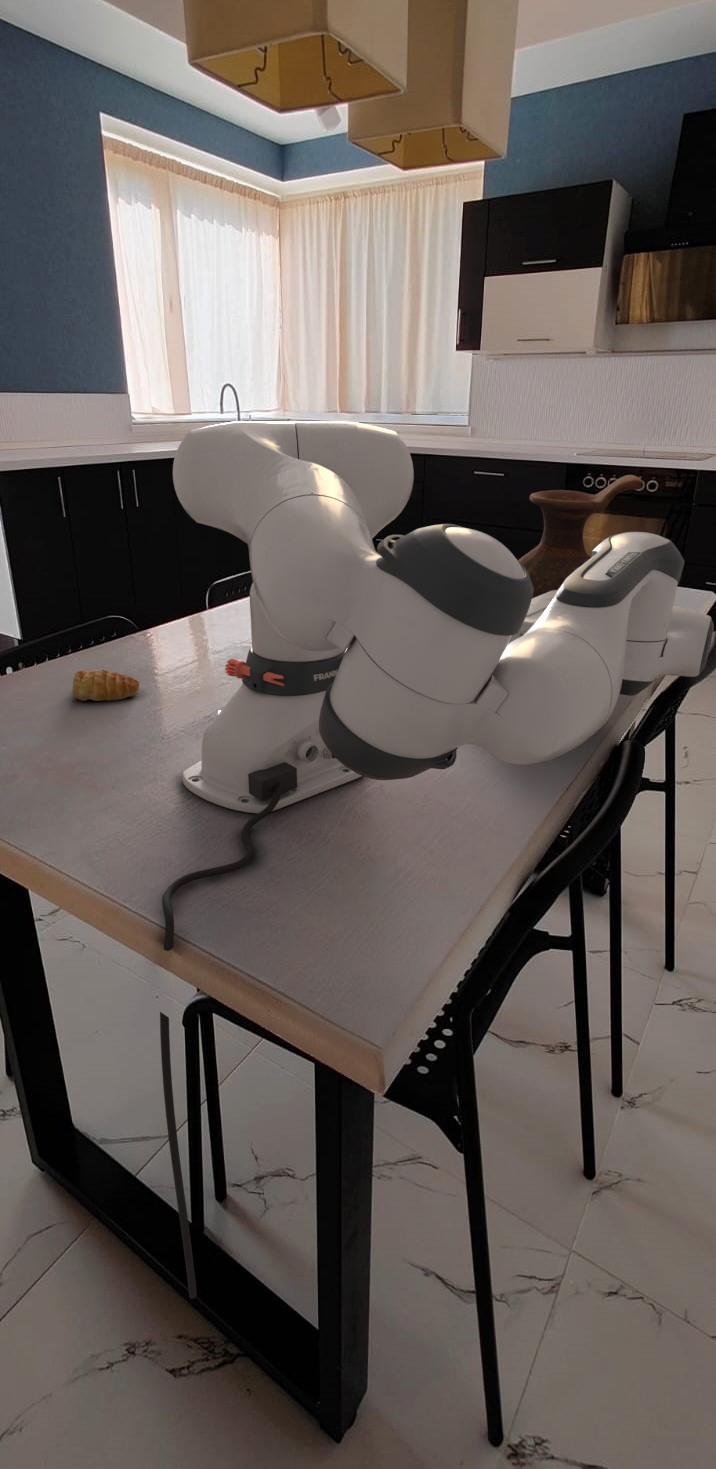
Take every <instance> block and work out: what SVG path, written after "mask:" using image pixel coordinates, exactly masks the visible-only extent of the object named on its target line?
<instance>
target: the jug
mask: <svg viewBox="0 0 716 1469" xmlns="http://www.w3.org/2000/svg"><path fill="white" fill-rule="evenodd" d="M642 485H643V480H642V479H641V478H640V477H638V476H636V475H633V474H627V475H624V476H621V477H619V478H618V479H615V481H613V482H612V483H611V484H609V485H608V486H606V487H605V488H604V489H602V490H601V491H599V492H597V493H596V494H591V493H587V492H582V491H578V490H569V489H568V490H567V489H549V490H542V491H536V492H532V493H531V494H530V495H529V497H528V498H529V500H530V502H531V503H533V504H534V505H536V506H538V507H540V510H541V511H542V515H543V516H542V517H543V532H542V536H541V539H540V542H539V543H538V545H537V546H535V547H534V548H533V549H531V550H530V551H529V552H527V553H526V554H525V555H523V556H522V557H520V558H519V559H517V560H518V561H519V562H520V563H521V564H522V565H523V566H524V567H525V569H526V570H527V572H528V574H529V577H530V579H531V582H532V585H533V588H534V592H533V597H532V598H535V597H537V596H540V595H542V594H545V593H547V592H549V591H553V590H559V588H560V587H561V585H562V584H563V582H564V581H565V580H566V578H567V577H568V576H570V575H571V574H572V573H573V572H574V571H575V570H577V569H578V568H579V567H580V566H582V565H583V564H584V563H585V562H587V561H588V560H589V559H590V558H591V556H590V555H589V554H588V553H587V551H586V548H585V544H584V538H583V537H584V529H585V525H586V522H587V521H588V519H589V518H590V517H591V516H592V515H594V514H595V513H597V512H600V511H602V510H605V509H606V508H607V507H608V506H609V504H610V503H611V502H612V500H613V499H614V498H615V497H616V495H618V494H620V493H623V492H626V491H630V490H633V491H638V490H640V489H641V488H642Z"/></svg>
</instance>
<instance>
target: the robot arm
mask: <svg viewBox="0 0 716 1469" xmlns="http://www.w3.org/2000/svg"><path fill="white" fill-rule="evenodd" d="M172 463H173V464H172V481H173V488H174V490H175V493H176V496H177V498H178V501H179V503H180V504H181V506H182V508H183V510H184V511H185V512H186V514H187V515H188V516H189V517H190V518H191V519H192V520H194V521H195V522H196V523H197V524H200V525H201V524H202V525H205V526H208V527H212V528H216V529H218V530H221V531H224V532H226V533H229V534H230V535H233V536H235V537H236V538H238V539H240V540H241V541H242V542H244V543H245V544H247V547H248V556H249V558H248V559H249V567H250V574H251V580H252V583H251V586H250V588H249V612H250V631H251V632H250V634H251V646H250V647H249V650H248V652H247V656H246V659H245V660H246V661H244V660H243V661H241V660H238V659H236V658H230V659H228V660H227V661H226V664H225V666H224V671H225V674H227V676H229V677H236V678H237V679H241V683H242V684H241V685H240V686H239V688H238V690H236V692H235V693H234V694H233V696H232V697H231V698H230V699H229V700H228V701H227V703H226V704H225V705H224V707H223V708H222V709H221V710H218V711H217V715H216V717H215V718H213V719H212V721H211V722H210V723H209V724H208V726H207V727H206V728H205V730H204V732H203V737H202V742H201V755H200V756H201V759H200V760H198V761H197V762H196V763H194V764H192V765H190V766H189V767H187V768H186V769H184V770H183V772H182V776H181V780H182V783H183V785H184V786H185V788H186V789H188V790H189V791H190V792H191V793H192V794H194V795H196V796H198V797H199V798H202V799H203V800H206V801H208V802H210V803H212V804H215V805H217V806H220V807H224V808H226V809H230V810H234V811H239V812H243V813H250V814H255V815H254V816H253V817H251V818H250V819H249V820H248V821H247V822H246V823H245V824H244V826H243V827H242V830H241V839H242V843H243V845H244V847H245V848H246V851H247V853H246V854H245V855H244V856H243V857H242V858H240V859H238V860H236V861H234V862H232V863H228V864H224V865H219V866H216V867H209V868H206V869H200V870H197V871H194V872H190V873H187V874H185V875H183V876H181V877H179V878H177V879H176V880H174V881H173V882H172V883H171V884H170V885H169V886H168V887H167V888H166V890H165V891H164V893H163V895H162V898H161V905H162V911H163V916H164V925H165V926H164V927H165V928H164V940H163V941H164V942H163V950H164V951H167V952H168V951H171V950H172V949H173V947H174V937H175V918H174V910H173V906H172V902H171V899H172V897H173V895H174V894H175V893H176V892H177V891H178V890H179V889H181V888H182V887H183V886H185V885H186V884H189V883H192V882H194V881H197V880H201V879H206V878H210V877H215V876H220V875H225V874H228V873H232V872H236V871H237V870H240V869H242V868H244V867H246V866H247V865H249V864H250V863H251V861H252V860H253V859H254V857H255V855H256V848H255V846H254V844H253V842H252V840H251V838H250V832H251V830H252V828H253V827H254V826H255V825H256V824H257V823H259V822H260V821H261V820H263V819H264V818H266V817H267V816H268V815H269V814H271V813H272V812H275V811H277V810H279V809H282V808H285V807H287V806H290V805H293V804H295V803H298V802H301V801H302V800H305V799H308V798H310V797H313V796H315V795H318V794H321V793H324V792H325V791H328V790H331V789H334V788H336V787H338V786H342V785H344V784H346V783H349V782H352V781H355V780H357V779H359V778H362V777H364V778H367V779H371V780H376V781H394V780H404V779H409V778H413V777H416V776H418V775H420V774H422V773H424V772H426V771H428V770H430V769H432V770H433V769H435V770H446V769H449V768H450V767H452V766H453V765H454V764H455V763H456V761H457V760H456V759H457V750H458V748H459V747H462V746H464V745H475V746H477V747H479V748H481V749H483V751H484V752H486V753H488V754H489V755H491V756H493V757H494V758H495V759H498V760H500V761H502V762H505V763H508V764H514V765H533V764H538V763H541V762H546V761H550V760H552V759H555V758H558V757H560V756H562V755H565V754H567V753H569V752H571V751H573V750H574V749H576V748H577V747H579V746H580V745H582V744H584V743H585V742H586V741H587V740H589V739H590V738H591V737H593V736H594V735H595V734H596V733H597V732H598V731H599V730H600V729H602V728H603V726H604V725H605V724H606V723H607V722H608V720H609V719H610V718H611V716H612V715H613V712H614V710H615V708H616V705H617V703H618V700H619V697H620V695H623V696H629V697H630V696H631V697H632V696H636V695H638V694H640V693H641V692H642V691H644V690H645V689H647V688H648V687H649V686H650V685H652V684H653V683H654V682H655V681H656V680H657V678H659V677H663V676H673V677H675V676H676V677H689V678H691V677H692V678H694V677H698V676H700V675H701V674H702V672H703V671H704V669H705V668H706V665H707V661H708V657H709V652H710V648H711V643H712V639H713V633H714V630H715V628H714V627H715V626H714V622H713V619H712V617H711V616H710V615H708V614H706V613H703V612H700V611H698V610H694V609H690V608H686V607H683V606H678V605H675V604H674V603H675V598H676V595H677V594H676V593H677V588H678V585H679V583H680V580H681V577H682V572H683V569H684V566H685V559H684V558H683V555H682V554H681V552H680V550H679V549H678V547H676V545H675V544H674V542H672V540H670V539H669V538H666V537H663V536H661V535H658V534H655V533H651V532H645V531H628V532H627V531H626V532H621V533H618V534H613V535H610V536H609V537H606V538H605V539H604V540H602V541H601V542H600V543H599V544H598V545H597V546H596V547H595V548H594V549H593V550H591V556H590V559H589V560H588V561H587V562H585V563H584V564H583V565H582V566H580V567H579V568H578V569H577V570H575V571H574V572H573V573H572V574H571V575H570V576H568V577H567V578H566V580H565V581H564V582H563V584H562V585H561V587H560V588H559V590H553V591H549V592H547V593H545V594H542V595H540V596H537V597H535V598H532V597H533V592H534V588H533V585H532V582H531V579H530V577H529V574H528V572H527V570H526V569H525V567H524V566H523V565H522V564H521V563H520V562H519V561H518V560H519V559H518V558H516V556H515V555H514V554H513V553H512V551H511V550H510V549H509V548H508V547H506V546H505V545H504V544H503V543H502V542H500V541H499V540H498V539H497V538H495V537H493V536H491V535H490V534H487V533H486V532H485V533H484V532H483V531H479V530H476V529H474V528H473V529H472V528H468V527H463V526H462V525H457V524H453V523H441V524H434V525H429V526H424V527H419V528H416V529H414V530H412V531H411V532H409V533H407V534H405V535H403V534H391V535H387V536H386V537H385V538H384V539H382V540H381V541H380V542H379V543H378V544H377V547H376V548H375V544H374V542H373V539H374V537H376V536H377V534H379V532H380V531H382V529H384V528H385V527H386V526H388V525H389V524H390V523H391V522H392V521H394V520H395V519H397V517H398V516H399V515H400V514H401V513H402V512H403V510H404V508H405V507H406V505H407V503H408V501H409V500H410V498H411V494H412V491H413V487H414V486H413V485H414V480H415V474H414V473H415V472H414V464H413V460H412V456H411V453H410V451H409V447H408V446H407V445H406V443H405V441H404V440H403V439H402V437H401V436H400V435H399V434H398V432H396V431H394V430H391V429H387V428H384V427H380V426H377V425H376V426H375V425H371V424H366V423H362V422H361V423H360V422H356V421H230V422H223V423H219V424H213V425H208V426H204V427H201V428H200V427H199V428H196V429H191V430H189V431H188V432H187V434H186V435H185V436H184V437H183V439H182V440H181V442H180V443H179V445H178V448H177V450H176V451H175V455H174V458H173V462H172ZM159 1028H160V1029H159V1032H160V1033H159V1036H160V1054H161V1055H160V1057H161V1073H162V1084H163V1085H162V1086H163V1088H162V1089H163V1098H164V1108H165V1109H164V1110H165V1118H166V1127H167V1135H168V1144H169V1151H170V1160H171V1167H172V1174H173V1181H174V1190H175V1195H176V1204H177V1212H178V1217H179V1225H180V1232H181V1239H182V1246H183V1254H184V1263H185V1270H186V1278H187V1289H188V1297H189V1298H190V1300H194V1299H195V1298H197V1293H198V1292H197V1283H196V1274H195V1265H194V1256H193V1248H192V1240H191V1232H190V1225H189V1218H188V1210H187V1202H186V1195H185V1187H184V1179H183V1173H182V1172H183V1171H182V1165H181V1164H182V1163H181V1157H180V1149H179V1141H178V1132H177V1123H176V1113H175V1103H174V1091H173V1079H172V1078H173V1077H172V1064H171V1063H172V1062H171V1043H170V1042H171V1041H170V1039H171V1038H170V1017H169V1016H167V1015H166V1014H165V1013H164V1012H162V1011H159Z"/></svg>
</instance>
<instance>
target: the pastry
mask: <svg viewBox="0 0 716 1469" xmlns="http://www.w3.org/2000/svg"><path fill="white" fill-rule="evenodd" d="M139 690H140V681H139V680H137V679H136V678H134V677H132V676H131V675H130V676H128V675H127V674H124V673H118V672H115V671H108V670H107V669H100V670H98V669H91V670H89V671H85V670H77V671H76V672H75V673H74V678H73V681H72V692H71V695H72V697H74V698H76V699H77V700H80V701H87V700H92V701H94V702H98V701H99V702H102V701H109V702H110V701H117V700H118V701H119V700H122V699H126V698H128V697H134V696H135V695H137V694H138V692H139Z"/></svg>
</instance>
